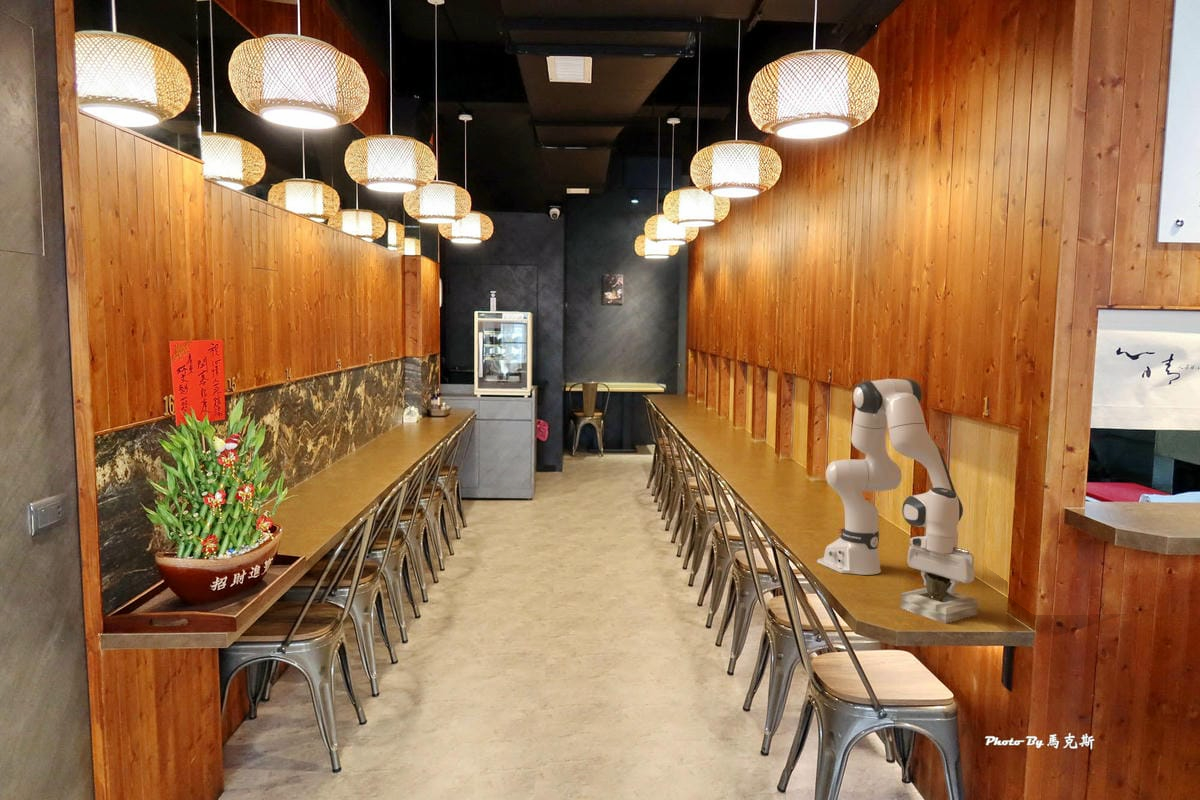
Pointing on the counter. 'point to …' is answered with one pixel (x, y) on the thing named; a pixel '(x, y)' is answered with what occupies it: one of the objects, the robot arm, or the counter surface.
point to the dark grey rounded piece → (937, 586)
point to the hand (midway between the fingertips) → (939, 589)
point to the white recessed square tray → (939, 605)
